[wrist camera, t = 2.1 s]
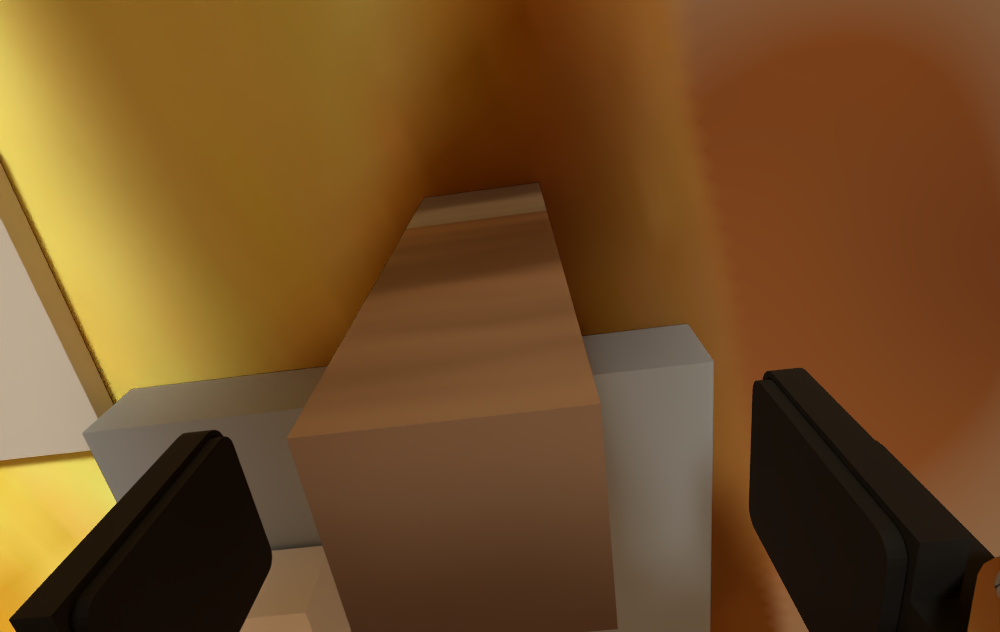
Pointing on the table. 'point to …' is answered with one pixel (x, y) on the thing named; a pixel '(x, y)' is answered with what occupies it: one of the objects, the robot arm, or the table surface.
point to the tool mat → (39, 350)
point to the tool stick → (463, 435)
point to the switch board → (627, 446)
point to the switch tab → (298, 595)
